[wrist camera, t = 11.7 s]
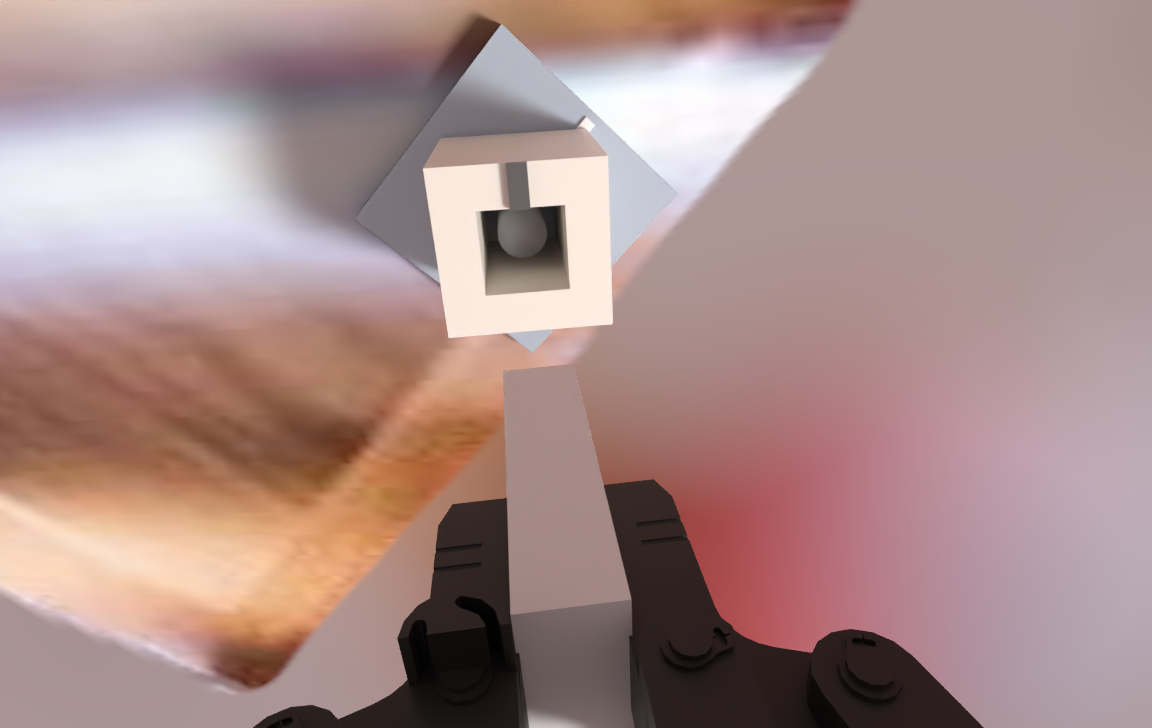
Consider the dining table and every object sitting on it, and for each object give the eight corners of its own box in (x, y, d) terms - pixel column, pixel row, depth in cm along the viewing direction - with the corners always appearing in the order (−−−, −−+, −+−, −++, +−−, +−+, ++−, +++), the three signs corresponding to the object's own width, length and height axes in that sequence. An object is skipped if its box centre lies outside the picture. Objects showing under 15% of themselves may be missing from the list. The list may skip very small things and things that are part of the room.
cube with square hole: (459, 276, 36) (448, 340, 28) (440, 137, 32) (421, 170, 25) (591, 266, 36) (613, 326, 29) (585, 128, 33) (609, 156, 26)
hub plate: (358, 214, 35) (329, 250, 29) (501, 24, 32) (502, 20, 26) (531, 344, 39) (538, 399, 33) (672, 188, 36) (708, 218, 30)
